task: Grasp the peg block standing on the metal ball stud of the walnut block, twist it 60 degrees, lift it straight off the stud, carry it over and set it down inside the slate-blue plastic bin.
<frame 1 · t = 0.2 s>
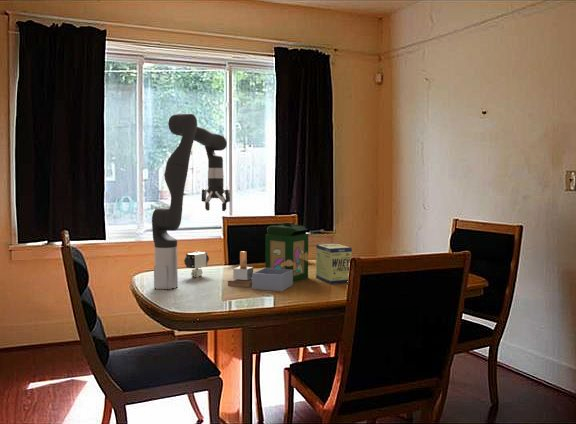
hand: (215, 210, 275), 29 cm above the table, tool pointing down, fingers open, 8 cm apart
bin: (272, 286, 237), on the table
protein box: (333, 280, 252), on the table
pneumatic valve: (196, 277, 259), on the table
stud block: (243, 283, 243), on the table
container: (286, 278, 255), on the table
peg block: (243, 278, 243), point 2 cm above the table, touching stud block
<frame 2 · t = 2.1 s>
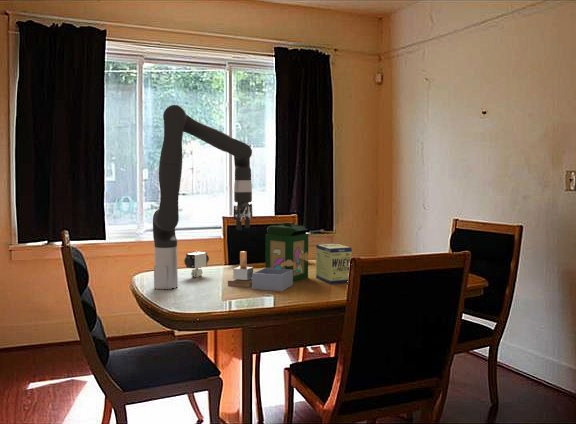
hand: (243, 228, 241), 24 cm above the table, tool pointing down, fingers open, 8 cm apart
nothing on the table moved.
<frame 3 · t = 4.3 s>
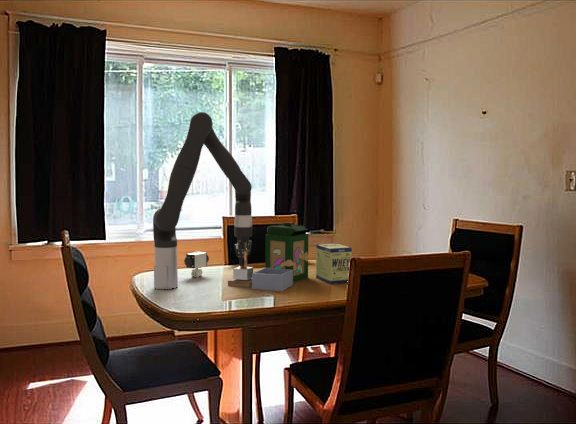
hand: (243, 265, 242), 8 cm above the table, tool pointing down, fingers closed on peg block, 2 cm apart
peg block: (243, 278, 243), point 3 cm above the table, touching gripper, stud block
everything else where it was.
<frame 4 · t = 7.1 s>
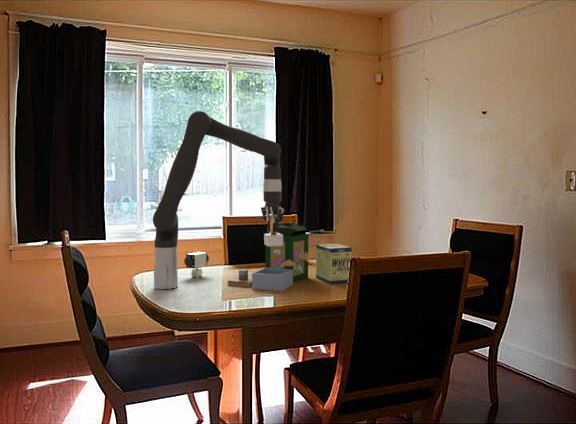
hand: (272, 231, 236), 23 cm above the table, tool pointing down, fingers closed on peg block, 2 cm apart
peg block: (273, 244, 236), point 18 cm above the table, touching gripper
everything else where it was.
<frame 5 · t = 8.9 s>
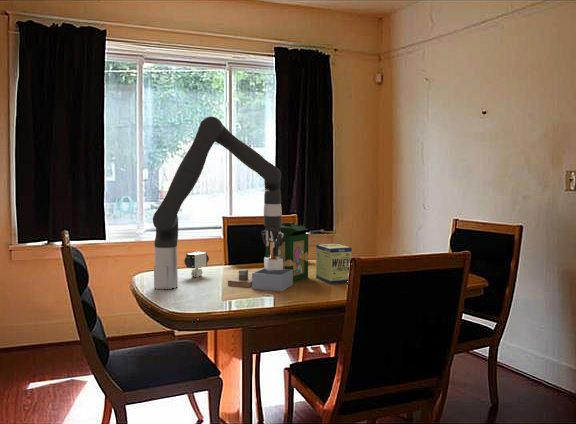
hand: (272, 255, 236), 13 cm above the table, tool pointing down, fingers closed on peg block, 2 cm apart
peg block: (273, 268, 237), point 8 cm above the table, touching gripper
everything else where it was.
when the fingers open (8 cm above the table, at t = 10.2 s): peg block drops 2 cm, resting on bin.
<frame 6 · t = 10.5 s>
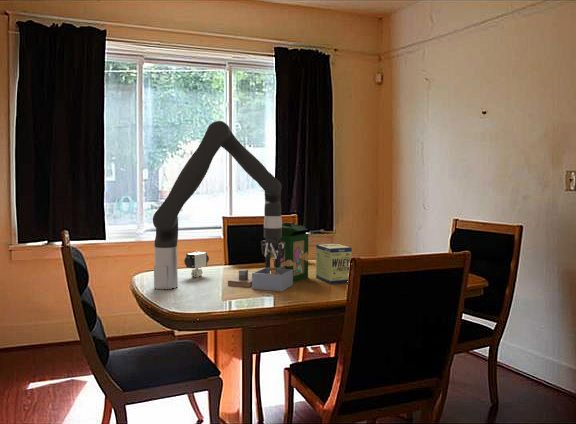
hand: (272, 266, 237), 9 cm above the table, tool pointing down, fingers open, 5 cm apart
peg block: (273, 285, 237), point 1 cm above the table, touching bin
everything else where it was.
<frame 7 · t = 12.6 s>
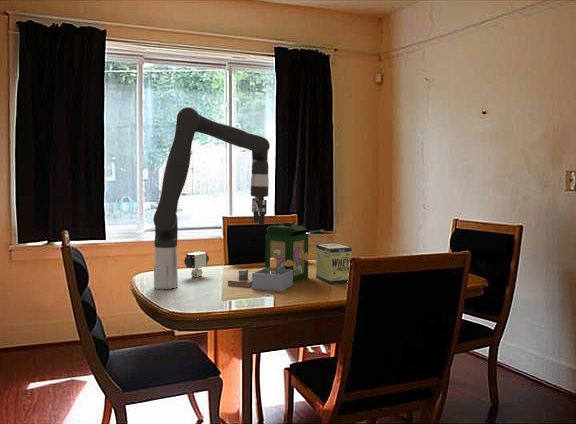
hand: (258, 223, 238), 26 cm above the table, tool pointing down, fingers open, 8 cm apart
nothing on the table moved.
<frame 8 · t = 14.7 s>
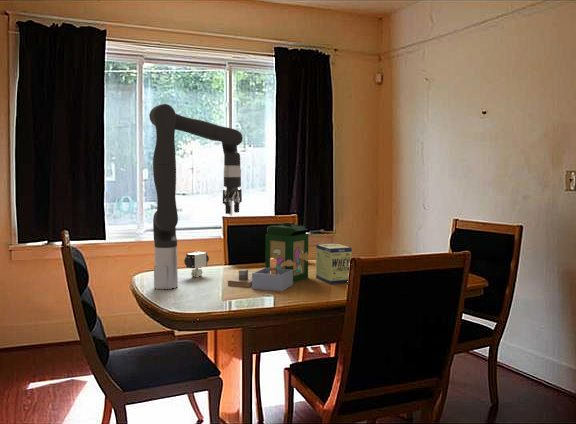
hand: (232, 213, 247), 30 cm above the table, tool pointing down, fingers open, 8 cm apart
nothing on the table moved.
at the end: peg block inside the target area on the bin (0.3 cm from its centre), point 0.6 cm above the bin's base; peg block touching bin; the gripper is holding nothing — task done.
